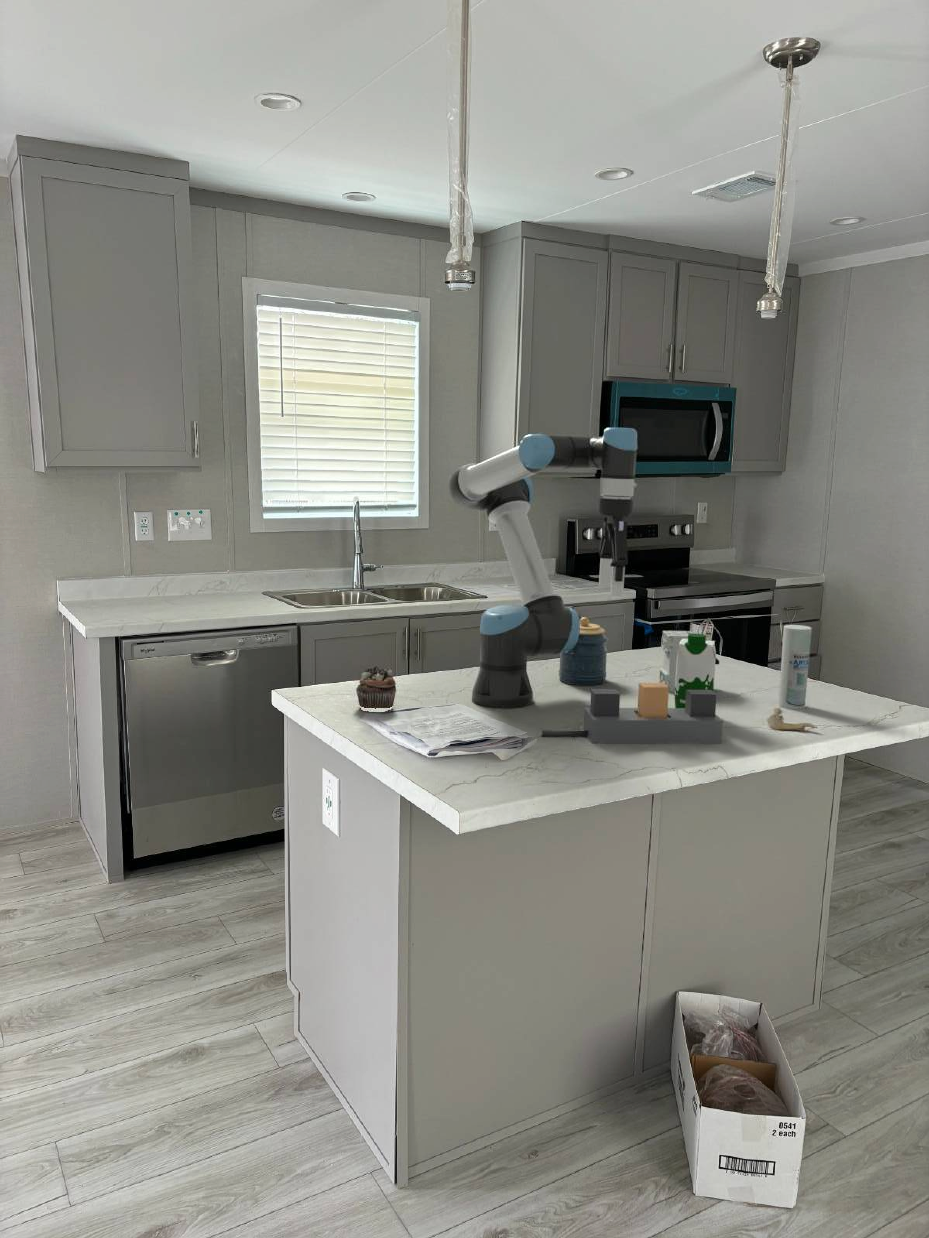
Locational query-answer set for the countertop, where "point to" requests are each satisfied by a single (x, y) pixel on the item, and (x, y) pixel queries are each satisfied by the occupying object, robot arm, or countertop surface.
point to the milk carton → (694, 666)
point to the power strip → (649, 721)
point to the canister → (585, 657)
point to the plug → (653, 700)
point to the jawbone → (778, 724)
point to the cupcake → (376, 689)
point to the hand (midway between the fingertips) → (610, 590)
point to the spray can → (794, 666)
